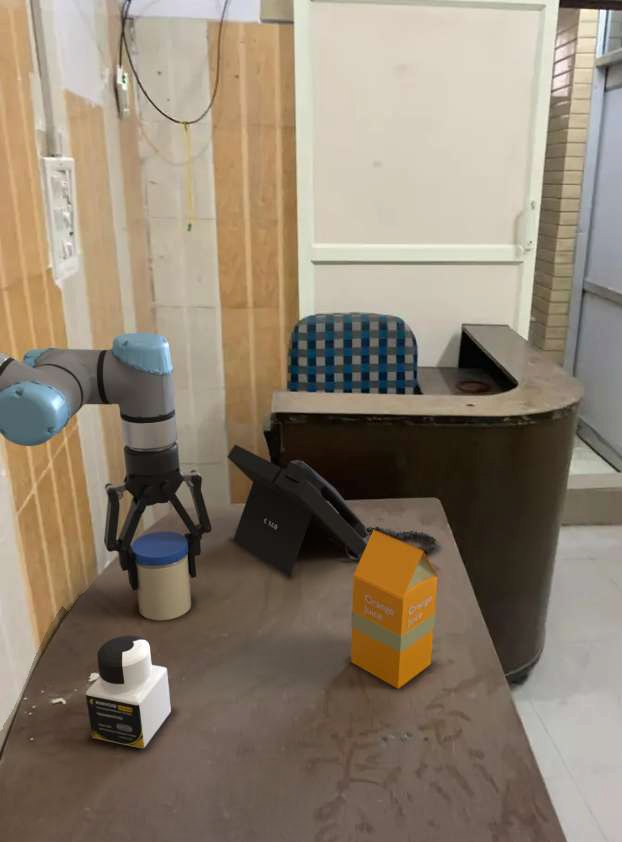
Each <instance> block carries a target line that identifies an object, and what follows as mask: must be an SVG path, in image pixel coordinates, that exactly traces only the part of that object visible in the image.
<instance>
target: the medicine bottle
mask: <svg viewBox="0 0 622 842" xmlns="http://www.w3.org/2000/svg"><path fill="white" fill-rule="evenodd" d="M96 658H97V660H96V661H97V667H98V674H99V677H98V678H97V679H96V680H95V681H94V683H93V684H91V686H90V687H89V688H88V689H87V690H86V691H85V699H86V705H87V712H88V719H89V724H90V725H89V726H90V732H91V737H92V739H96V740H99V741H100V740H101V741H105V742H110V743H115V744H120V745H123V746H129V747H133V748H137V749H145V748H146V747H147V745H148V744H149V743H150V741H151V740H152V738H153V737H154V736H155V734H156V733H157V732H158V730H159V729H160V727H161V726H162V725H163V724H164V722H165V721H166V719H167V718H168V716H169V715H170V714H171V712H172V708H171V698H170V687H169V677H168V676H169V675H168V668H167V667H166V666H160V665H156V664H152V656H151V646H150V644H149V642H148V641H147V640H146V639H144V638H142V637H140V636H137V635H120V636H116V637H113V638H111V639H109V640H107V641H106V642H104V643H103V644H102V645H101V646H100V647H99V649H98V651H97V653H96Z"/></svg>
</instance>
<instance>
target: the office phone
mask: <svg viewBox="0 0 622 842" xmlns="http://www.w3.org/2000/svg"><path fill="white" fill-rule="evenodd" d="M227 459H228V460H229V461H231V463H232V464H233V465H235V467H237V469H239V471H241V472H242V473H243V475H245V476H246V477H247V478H248V479H249V480H250V481H251V482H252V483H251V487H250V489H249V493H248V495H247V498H246V502H245V505H244V507H243V510H242V513H241V515H240V519H239V521H238V525H237V528H236V530H235V534H234V535H233V538H232V540H233V541H234V542H236V543H237V544H239V545H240V546H241V547H243V548H244V549H246V550H248V551H249V552H251V553H252V554H254V555H255V556H257V557H258V558H260V559H261V560H263V561H264V562H266V563H267V564H269V565H271V566H272V567H274V568H275V569H276V570H278V571H279V572H281V573H282V574H284V576H287V577H288V578H290V577H291V574H292V572H293V569H294V566H295V563H296V561H297V558H298V555H299V552H300V549H301V547H302V544H303V541H304V538H305V535H306V532H307V530H308V528H309V529H311V530H313V531H314V532H315V533H317V534H320V535H321V536H323V537H325V538H326V539H328V540H330V541H332V542H333V543H334V544H337V545H338V546H339V547H341V548H343V549H344V550H345V554H346V555H347V557H348V558H349V560H354V561H360V560H361V557H362V555H363V553H364V550H365V548H366V546H367V543H368V542H366V541H365V538H367V537H371V534H372V532H373V529H374V530H376V531H379V532H381V533H383V534H386V535H388V536H391V537H393V538H395V539H398V540H405V541H406V539H407V540H409V539H410V540H411V539H413V540H415V541H416V540H417V539H419V540H421V541H422V540H423V541H424V542H426V545H419V546H415V547H416V548H419V549H421V550H423V551H424V553H425V554H426V553H427V554H429V553H430V552H433V551H434V550H436V547H437V539H436V538H435V536H432V535H431V534H429V533H424V532H423V531H418V530H416V531H414V530H410V531H399V532H398V531H397V532H396V530H392V529H388V528H384V527H380V526H375V527H372V526H369V527H367V526H366V525H365V523H364V522H363V521H362V520H361V518H359V516H358V515H357V513H356V512H355V511H354V510H353V509H352V508H351V506H350V505H349V504H348V503H347V501H346V500H345V499H344V498H343V496H342V495H341V494H340V493H339V491H338V490H337V489H336V488H335V487H334V486H333V485H332V484H330V483H329V482H328V481H327V480H326V479H325V478H324V477H322V476H321V475H320V474H319V473H318V472H317V471H315V470H314V469H313V468H312V467H310V465H308V464H307V463H306V462H304V460H303V461H302V460H300V459H294V460H291V461H289V462H288V464H287V467H286V468H282V467H281V466H279V465H277V464H275V463H273V462H271V461H269V460H267V459H265V458H263V457H261V456H260V455H258V454H256V453H253V452H251V451H249V450H247V449H245V448H244V447H241V446H239V445H237V444H234V445H233V447H232V448H231V450H230V452H229V453H228V455H227ZM349 552H351V553H352V554H353V555H355V556H357V557H355V556H353V555H351V554H349Z"/></svg>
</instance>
